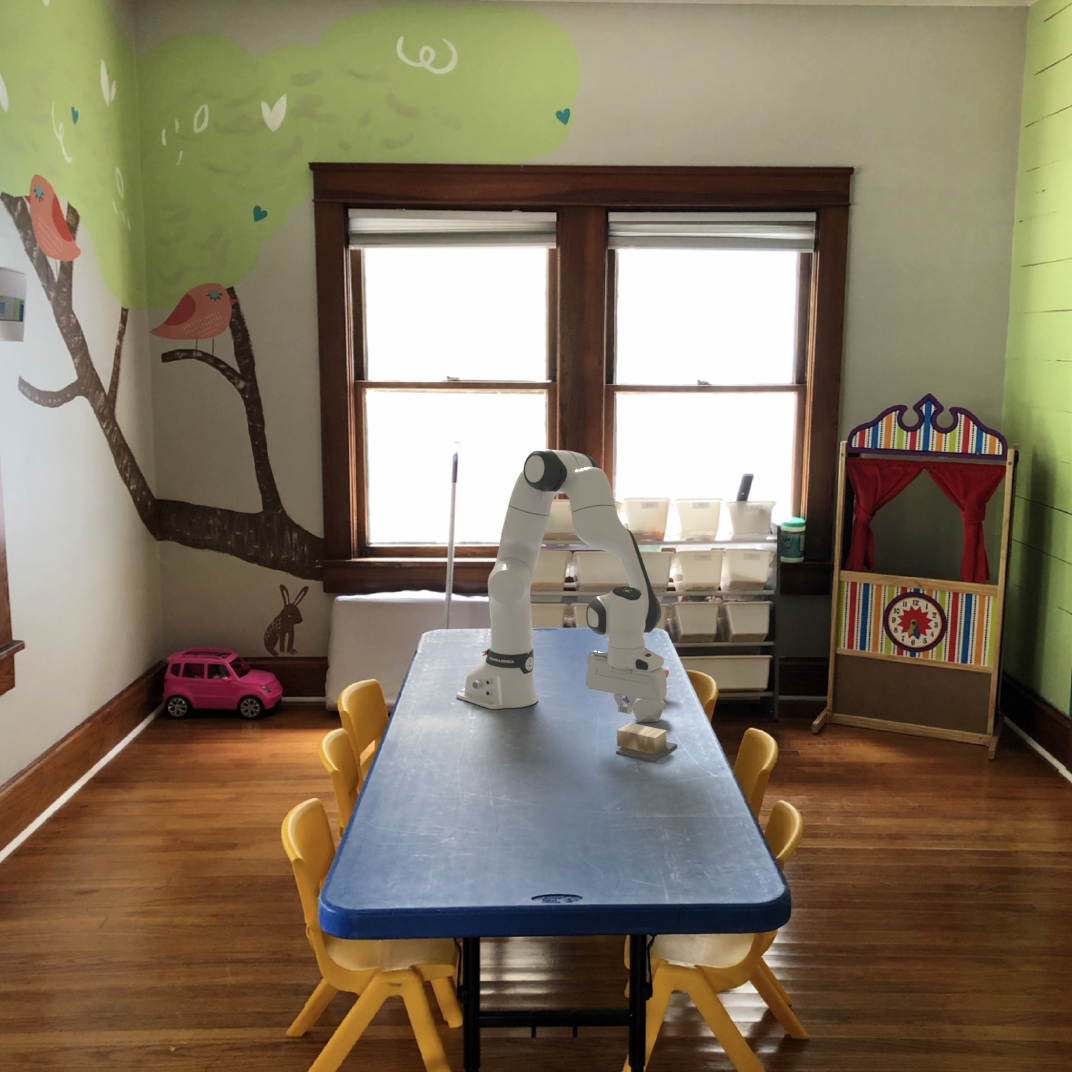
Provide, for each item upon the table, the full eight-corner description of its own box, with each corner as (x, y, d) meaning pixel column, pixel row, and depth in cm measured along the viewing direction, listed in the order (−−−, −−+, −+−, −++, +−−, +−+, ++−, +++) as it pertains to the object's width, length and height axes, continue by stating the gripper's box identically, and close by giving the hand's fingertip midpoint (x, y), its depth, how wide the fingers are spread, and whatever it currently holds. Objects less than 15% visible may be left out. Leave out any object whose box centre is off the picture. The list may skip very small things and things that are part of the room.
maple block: (617, 729, 248) (655, 737, 243) (629, 722, 253) (666, 730, 248) (617, 745, 249) (655, 754, 244) (628, 738, 254) (666, 746, 249)
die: (655, 731, 263) (675, 696, 265) (624, 712, 264) (644, 677, 265) (650, 731, 271) (670, 698, 273) (621, 713, 272) (640, 680, 274)
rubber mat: (616, 753, 246) (616, 751, 246) (639, 738, 256) (639, 735, 256) (654, 762, 240) (654, 759, 240) (677, 746, 250) (677, 744, 250)
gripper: (581, 652, 251) (580, 708, 253) (658, 666, 240) (657, 723, 242) (594, 646, 256) (593, 701, 258) (670, 659, 245) (669, 716, 247)
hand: (624, 712), depth 250 cm, fingers closed
